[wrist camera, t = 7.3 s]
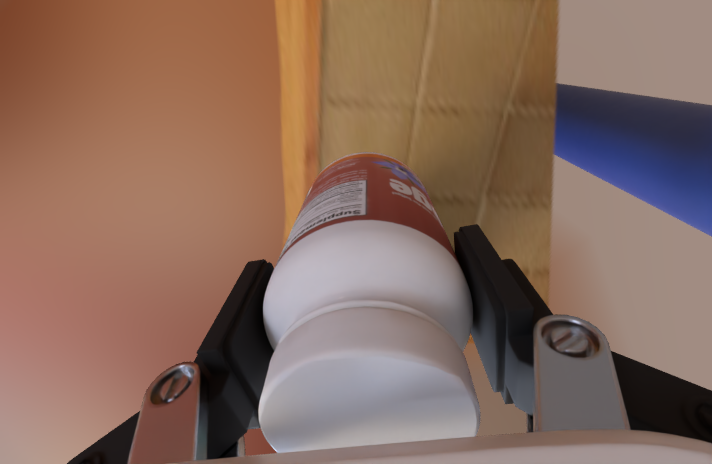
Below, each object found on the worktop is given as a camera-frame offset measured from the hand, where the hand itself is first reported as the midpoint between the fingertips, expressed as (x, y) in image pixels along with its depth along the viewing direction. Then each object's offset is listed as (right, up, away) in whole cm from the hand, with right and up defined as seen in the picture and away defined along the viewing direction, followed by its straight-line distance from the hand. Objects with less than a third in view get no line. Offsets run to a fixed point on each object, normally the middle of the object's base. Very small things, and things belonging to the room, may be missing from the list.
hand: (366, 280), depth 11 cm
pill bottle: (0, +3, +5) cm, 6 cm away
